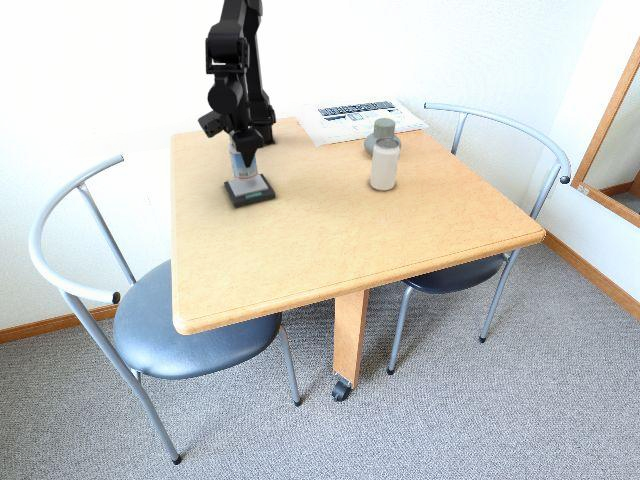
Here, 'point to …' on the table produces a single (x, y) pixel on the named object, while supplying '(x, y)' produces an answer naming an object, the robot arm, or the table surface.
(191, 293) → the table surface
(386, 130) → the air freshener
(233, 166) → the pill bottle
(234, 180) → the scale
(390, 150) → the can
